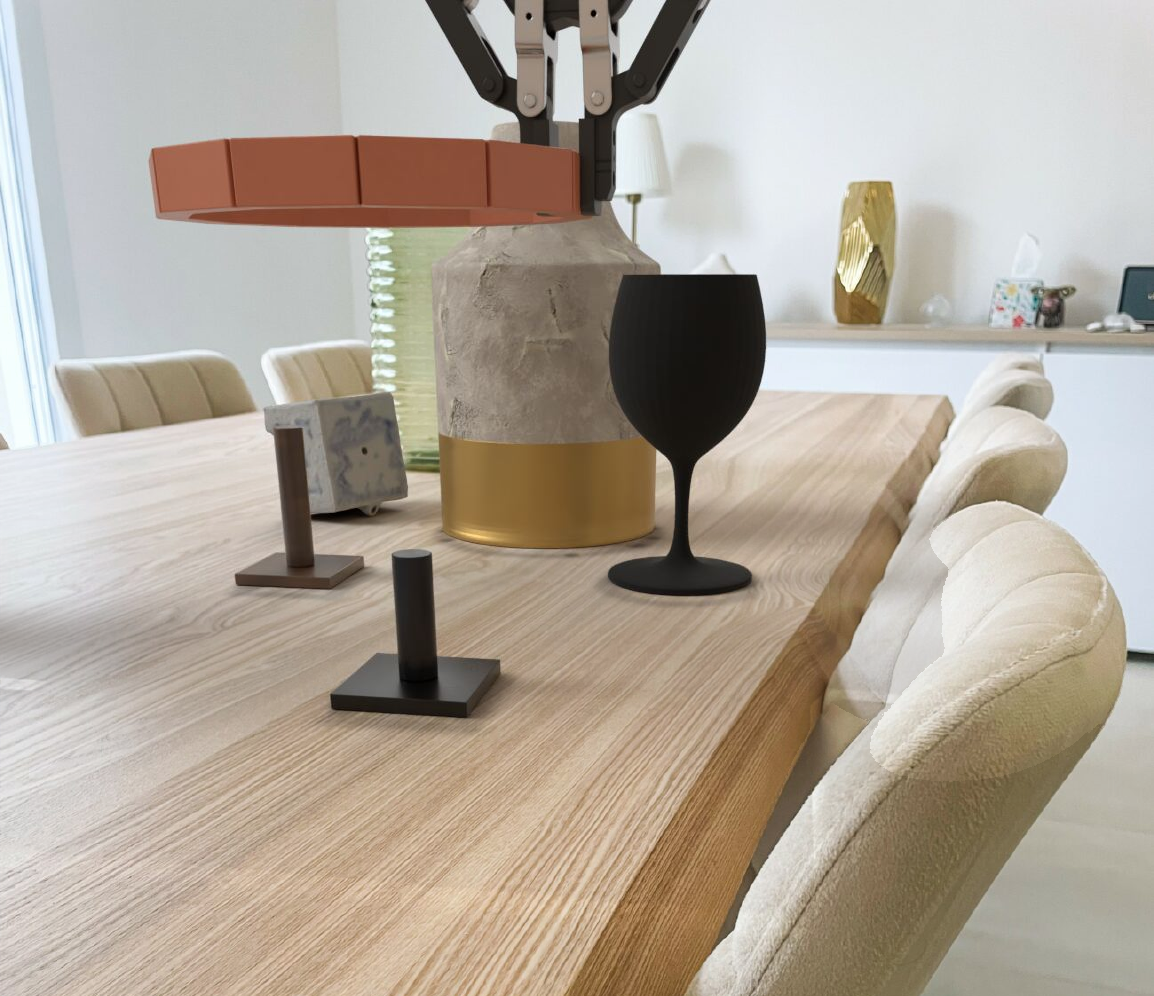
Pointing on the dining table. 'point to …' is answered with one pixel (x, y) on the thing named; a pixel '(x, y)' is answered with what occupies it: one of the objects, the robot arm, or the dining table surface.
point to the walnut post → (296, 528)
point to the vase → (537, 383)
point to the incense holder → (347, 450)
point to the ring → (365, 182)
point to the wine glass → (685, 397)
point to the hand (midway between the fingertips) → (569, 214)
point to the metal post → (416, 657)
